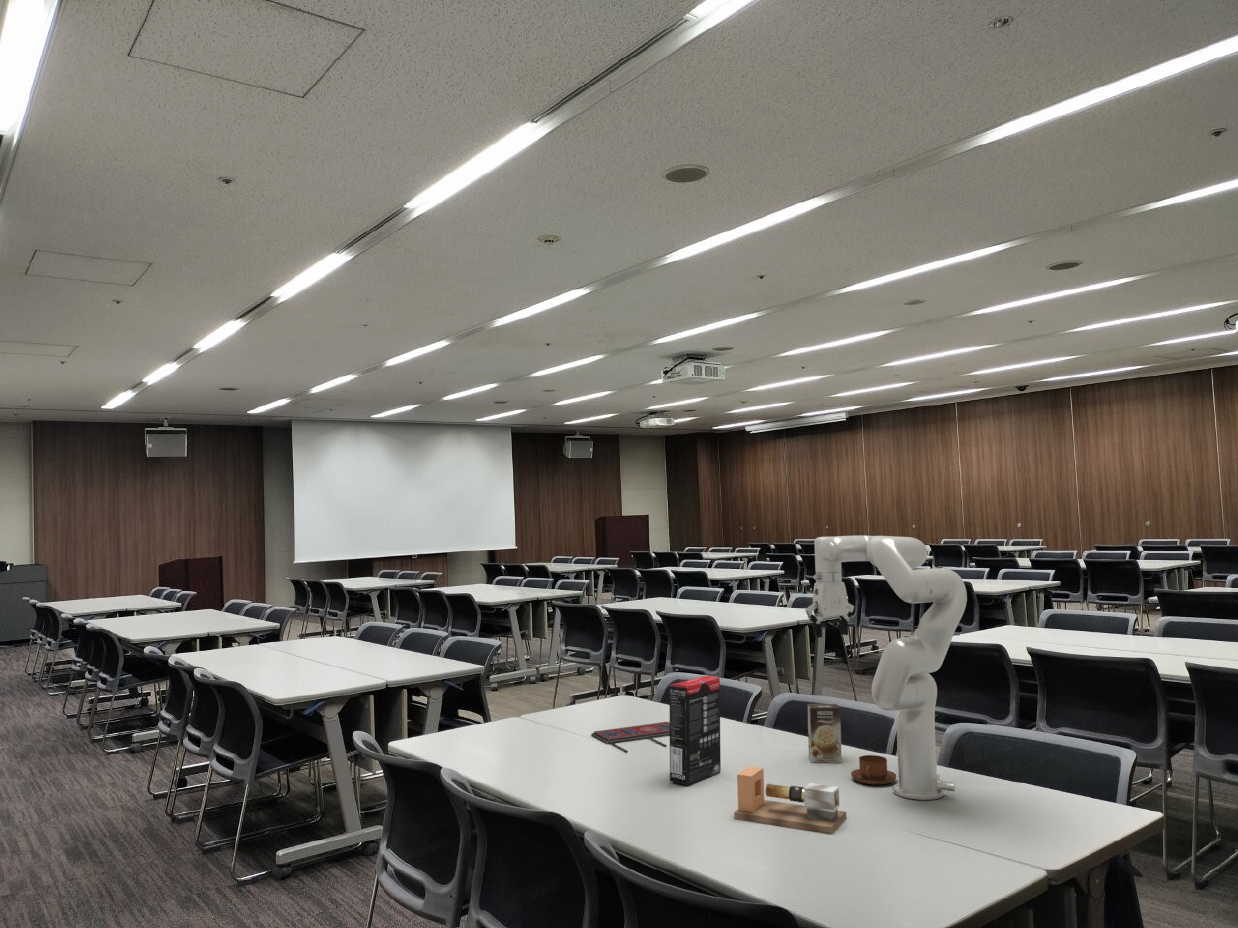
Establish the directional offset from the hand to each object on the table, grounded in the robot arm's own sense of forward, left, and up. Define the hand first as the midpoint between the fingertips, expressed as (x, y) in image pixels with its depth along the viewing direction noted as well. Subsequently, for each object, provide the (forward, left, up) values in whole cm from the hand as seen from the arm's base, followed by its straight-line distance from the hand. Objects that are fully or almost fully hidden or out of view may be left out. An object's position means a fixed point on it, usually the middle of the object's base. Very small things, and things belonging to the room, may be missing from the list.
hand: (831, 635), depth 258 cm
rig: (-4, +51, -37) cm, 64 cm away
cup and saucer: (-14, +12, -38) cm, 42 cm away
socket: (+6, +51, -36) cm, 63 cm away
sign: (+65, -4, -38) cm, 75 cm away
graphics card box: (+31, +30, -38) cm, 57 cm away
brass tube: (-6, +51, -33) cm, 61 cm away
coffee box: (+4, -3, -38) cm, 38 cm away
